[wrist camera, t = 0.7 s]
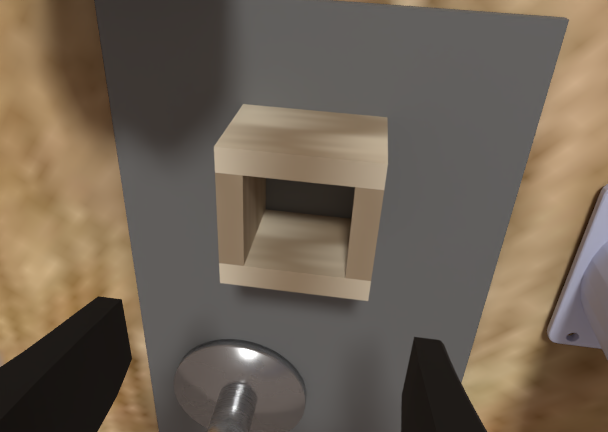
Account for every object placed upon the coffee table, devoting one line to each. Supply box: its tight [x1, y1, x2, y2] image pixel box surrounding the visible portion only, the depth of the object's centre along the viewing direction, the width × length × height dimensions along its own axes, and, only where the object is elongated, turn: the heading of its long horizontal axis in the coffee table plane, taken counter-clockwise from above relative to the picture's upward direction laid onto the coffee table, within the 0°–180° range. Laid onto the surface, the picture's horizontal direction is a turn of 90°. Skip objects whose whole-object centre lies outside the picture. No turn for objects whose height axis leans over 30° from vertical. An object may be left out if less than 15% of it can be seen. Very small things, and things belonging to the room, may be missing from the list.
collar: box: [214, 104, 388, 301], centre depth 19 cm, size 5×5×4 cm
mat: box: [94, 0, 569, 432], centre depth 25 cm, size 16×26×1 cm, turn 177°
